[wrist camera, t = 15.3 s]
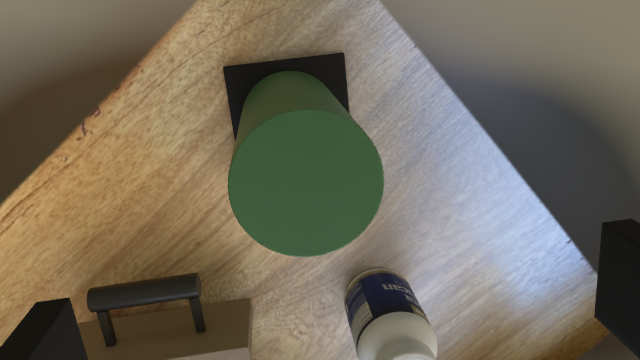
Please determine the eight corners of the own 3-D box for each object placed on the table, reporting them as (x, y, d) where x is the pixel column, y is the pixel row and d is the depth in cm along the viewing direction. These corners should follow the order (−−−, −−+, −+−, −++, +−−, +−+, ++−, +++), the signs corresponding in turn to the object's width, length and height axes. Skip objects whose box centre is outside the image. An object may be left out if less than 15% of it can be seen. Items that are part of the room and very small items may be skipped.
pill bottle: (421, 277, 40) (468, 356, 31) (392, 332, 41) (430, 424, 32) (359, 256, 39) (389, 332, 30) (332, 314, 40) (353, 404, 31)
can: (333, 65, 34) (379, 99, 20) (342, 159, 36) (388, 246, 23) (234, 76, 33) (215, 119, 20) (249, 171, 35) (240, 267, 22)
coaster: (342, 52, 34) (344, 53, 33) (352, 165, 36) (354, 167, 36) (223, 66, 33) (222, 67, 33) (242, 180, 36) (241, 182, 35)
